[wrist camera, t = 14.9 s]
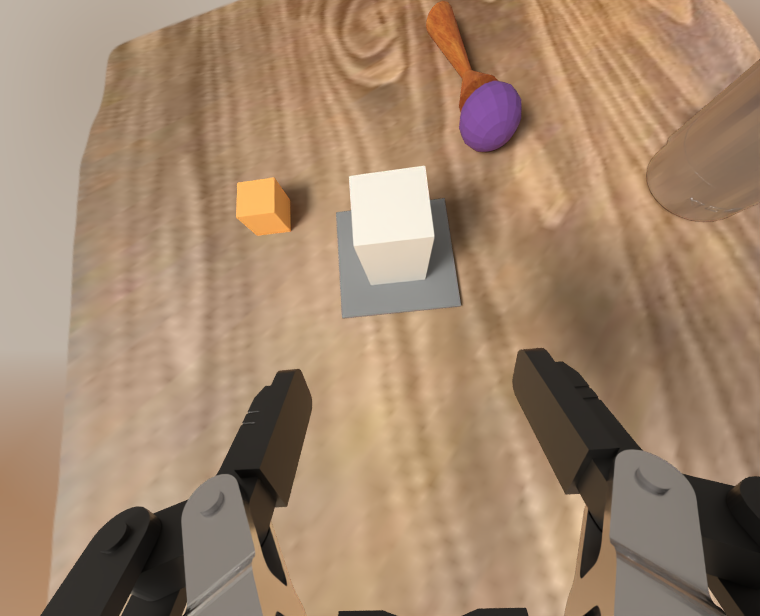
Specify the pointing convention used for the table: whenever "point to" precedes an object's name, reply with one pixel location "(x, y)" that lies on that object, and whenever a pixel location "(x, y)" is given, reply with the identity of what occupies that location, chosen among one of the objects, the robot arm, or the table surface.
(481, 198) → the table surface
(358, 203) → the cover
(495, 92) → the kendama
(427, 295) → the mat
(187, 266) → the table surface
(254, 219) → the block
